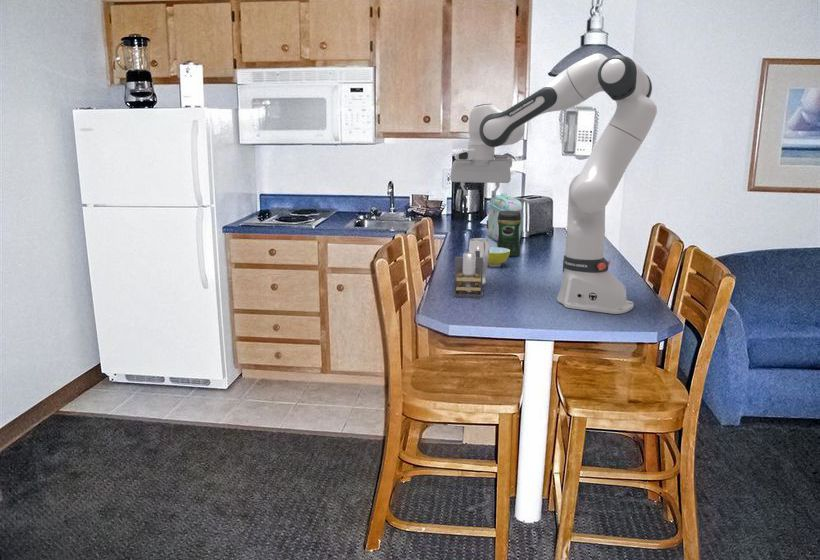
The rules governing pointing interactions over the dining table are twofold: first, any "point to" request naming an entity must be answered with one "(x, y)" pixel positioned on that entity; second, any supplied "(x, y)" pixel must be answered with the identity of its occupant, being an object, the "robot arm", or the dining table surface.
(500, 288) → the dining table surface
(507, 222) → the coffee jar
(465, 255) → the metal cylinder
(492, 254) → the bowl
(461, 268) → the stand
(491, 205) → the lunch box
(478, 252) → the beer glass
